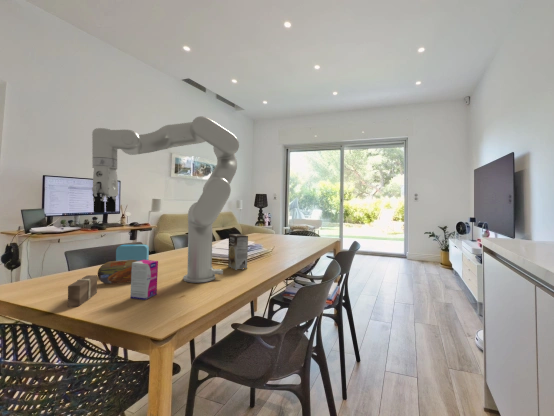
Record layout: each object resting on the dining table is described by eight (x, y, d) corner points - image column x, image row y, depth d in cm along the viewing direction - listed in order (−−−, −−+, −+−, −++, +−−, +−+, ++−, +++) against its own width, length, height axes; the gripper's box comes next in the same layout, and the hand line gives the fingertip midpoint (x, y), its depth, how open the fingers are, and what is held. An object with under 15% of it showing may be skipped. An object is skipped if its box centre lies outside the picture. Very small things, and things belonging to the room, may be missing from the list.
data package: (148, 270, 122) (148, 244, 122) (146, 273, 118) (146, 245, 118) (118, 271, 119) (119, 244, 119) (115, 274, 115) (116, 246, 115)
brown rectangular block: (97, 293, 91) (97, 274, 91) (80, 306, 79) (80, 284, 79) (86, 293, 90) (86, 274, 90) (67, 306, 78) (67, 285, 78)
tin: (97, 285, 99) (97, 262, 99) (98, 283, 102) (98, 260, 102) (143, 281, 106) (143, 259, 106) (142, 279, 109) (143, 258, 109)
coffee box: (227, 266, 134) (228, 234, 134) (239, 265, 138) (240, 233, 138) (235, 270, 127) (236, 236, 127) (247, 269, 130) (248, 235, 130)
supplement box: (146, 300, 85) (146, 263, 85) (129, 298, 86) (130, 262, 86) (157, 294, 91) (158, 260, 91) (142, 292, 92) (142, 259, 92)
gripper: (106, 161, 89) (106, 213, 89) (125, 168, 106) (125, 211, 106) (80, 160, 87) (81, 213, 88) (103, 167, 104) (103, 211, 105)
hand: (105, 212), depth 97 cm, fingers open, 9 cm apart
